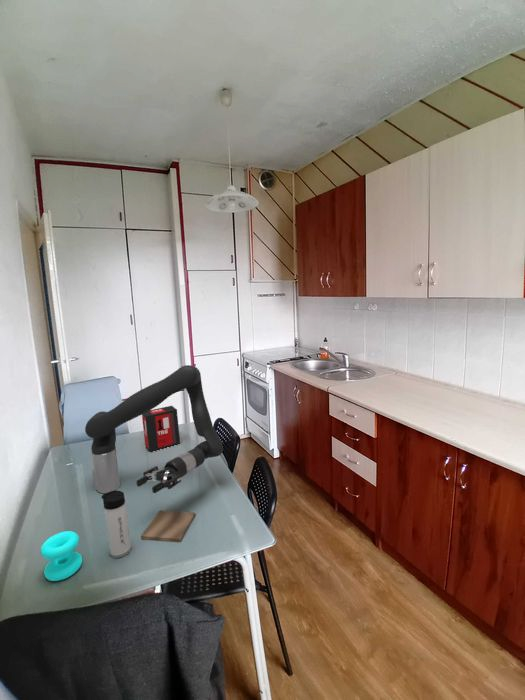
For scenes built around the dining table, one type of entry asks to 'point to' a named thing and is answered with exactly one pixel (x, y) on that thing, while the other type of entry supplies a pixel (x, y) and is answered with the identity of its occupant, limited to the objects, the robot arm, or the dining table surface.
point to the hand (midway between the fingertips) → (144, 487)
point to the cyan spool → (61, 555)
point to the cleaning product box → (161, 428)
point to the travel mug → (116, 523)
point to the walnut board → (168, 526)
